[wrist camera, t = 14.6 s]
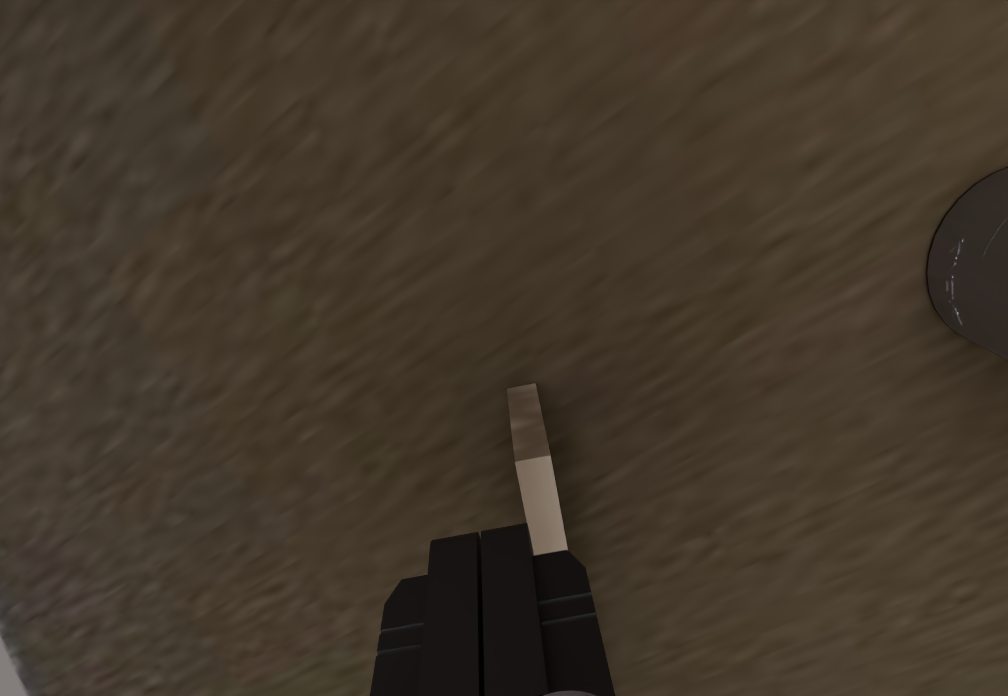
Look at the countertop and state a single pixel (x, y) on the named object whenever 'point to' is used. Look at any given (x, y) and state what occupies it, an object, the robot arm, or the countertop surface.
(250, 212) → the countertop surface
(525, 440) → the wooden frame
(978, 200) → the robot arm
